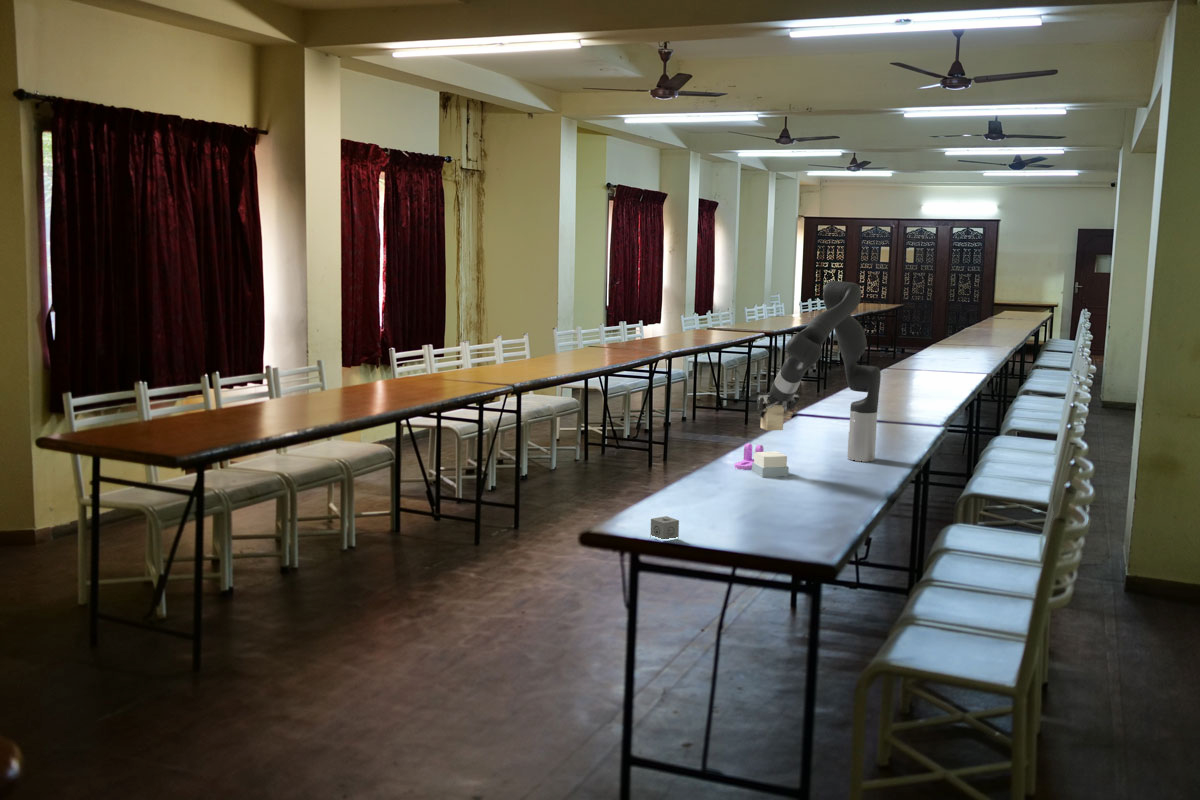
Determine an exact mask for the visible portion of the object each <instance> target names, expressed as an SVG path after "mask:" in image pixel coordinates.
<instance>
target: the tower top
mask: <svg viewBox="0 0 1200 800" xmlns="http://www.w3.org/2000/svg"><path fill="white" fill-rule="evenodd" d="M753 459H754V463H756V464H758V465H760V466H762V467H764V468H766V467H787V466H788V464H787V462H788V456H787V455H786V454H783V453H782V452H779V451H775V450H774V451H763V452H755V451H754V458H753Z"/></svg>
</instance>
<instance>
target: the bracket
mask: <svg viewBox="0 0 1200 800" xmlns="http://www.w3.org/2000/svg"><path fill="white" fill-rule="evenodd" d="M755 452H764V446H763V445H762V444H757V445H756V446H755V449H754V453H755ZM752 462H754V458H753V445H752V443H745V444H744V448H743V459H742V460H739V461H737V462H735V463H734V467H735V468H734V469H736V468H737V469H736V470H741V469H748V470H752V469H751V468H752Z"/></svg>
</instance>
